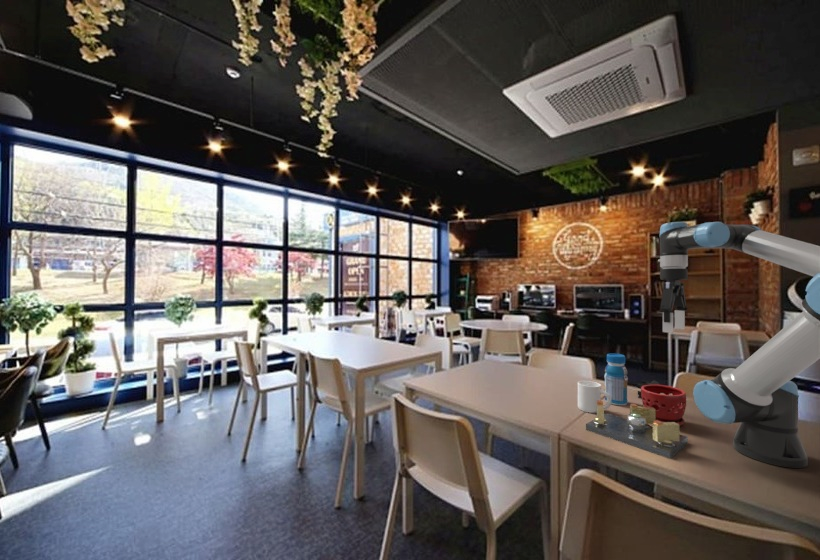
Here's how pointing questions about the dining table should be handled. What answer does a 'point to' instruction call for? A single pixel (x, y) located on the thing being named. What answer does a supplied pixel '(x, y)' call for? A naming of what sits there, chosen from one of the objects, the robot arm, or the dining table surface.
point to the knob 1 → (600, 413)
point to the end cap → (646, 384)
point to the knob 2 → (665, 432)
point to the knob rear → (644, 412)
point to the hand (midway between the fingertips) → (674, 330)
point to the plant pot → (665, 402)
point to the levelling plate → (635, 434)
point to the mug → (591, 396)
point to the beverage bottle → (616, 379)
